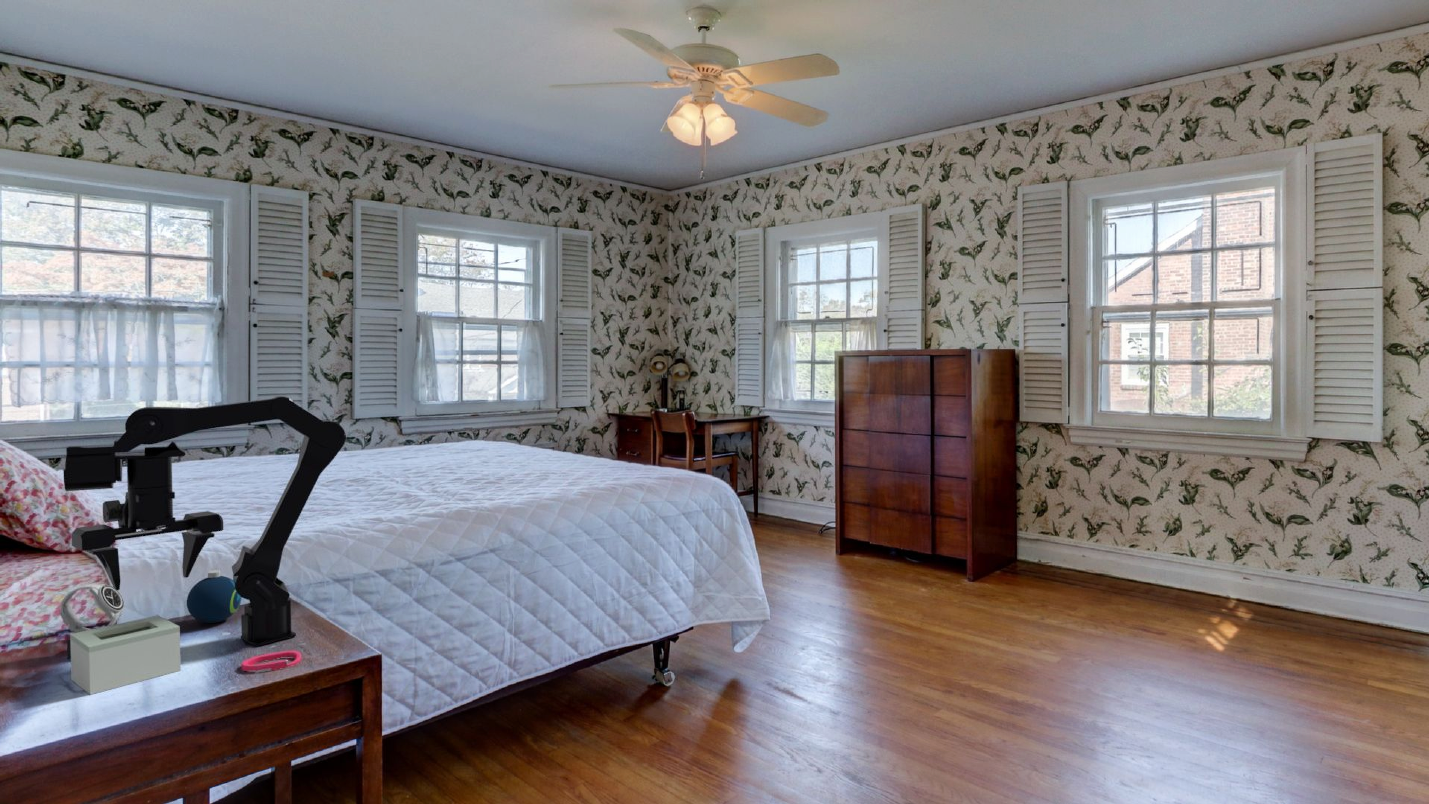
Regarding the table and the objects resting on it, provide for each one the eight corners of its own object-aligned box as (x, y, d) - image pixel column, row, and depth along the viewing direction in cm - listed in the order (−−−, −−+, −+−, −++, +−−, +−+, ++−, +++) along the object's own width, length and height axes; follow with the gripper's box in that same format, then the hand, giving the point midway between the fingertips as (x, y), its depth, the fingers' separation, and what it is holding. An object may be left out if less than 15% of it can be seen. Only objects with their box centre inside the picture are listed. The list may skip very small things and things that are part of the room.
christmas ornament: (213, 631, 134) (212, 575, 133) (175, 627, 136) (174, 572, 135) (252, 616, 142) (252, 563, 141) (216, 613, 144) (215, 561, 143)
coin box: (159, 657, 121) (158, 615, 121) (180, 670, 116) (179, 626, 116) (71, 679, 112) (70, 634, 112) (90, 694, 107) (89, 647, 107)
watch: (113, 655, 122) (112, 587, 122) (54, 660, 120) (52, 591, 120) (130, 643, 127) (129, 578, 127) (73, 647, 125) (72, 582, 125)
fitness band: (240, 678, 114) (240, 668, 114) (242, 665, 119) (242, 655, 119) (301, 668, 118) (301, 658, 118) (301, 655, 123) (301, 646, 123)
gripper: (197, 475, 132) (199, 564, 133) (59, 488, 117) (62, 587, 118) (223, 481, 126) (225, 574, 126) (81, 495, 111) (84, 600, 111)
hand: (152, 583), depth 121 cm, fingers open, 9 cm apart
